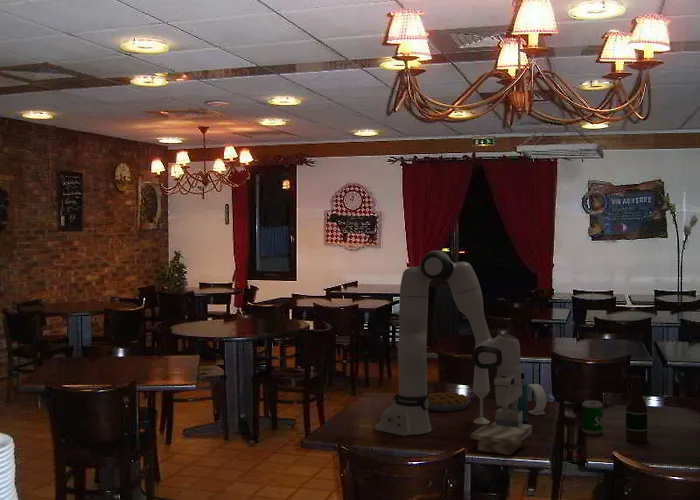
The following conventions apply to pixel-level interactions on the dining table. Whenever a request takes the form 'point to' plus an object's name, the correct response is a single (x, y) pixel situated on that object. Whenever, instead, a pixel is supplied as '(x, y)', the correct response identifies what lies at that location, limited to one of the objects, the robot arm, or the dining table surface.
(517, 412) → the block
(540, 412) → the headphone stand
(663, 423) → the dining table surface
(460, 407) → the pie
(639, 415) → the beer bottle
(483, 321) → the robot arm
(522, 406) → the beverage bottle
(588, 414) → the soda can
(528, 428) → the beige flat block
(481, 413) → the champagne flute
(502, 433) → the serving riser
